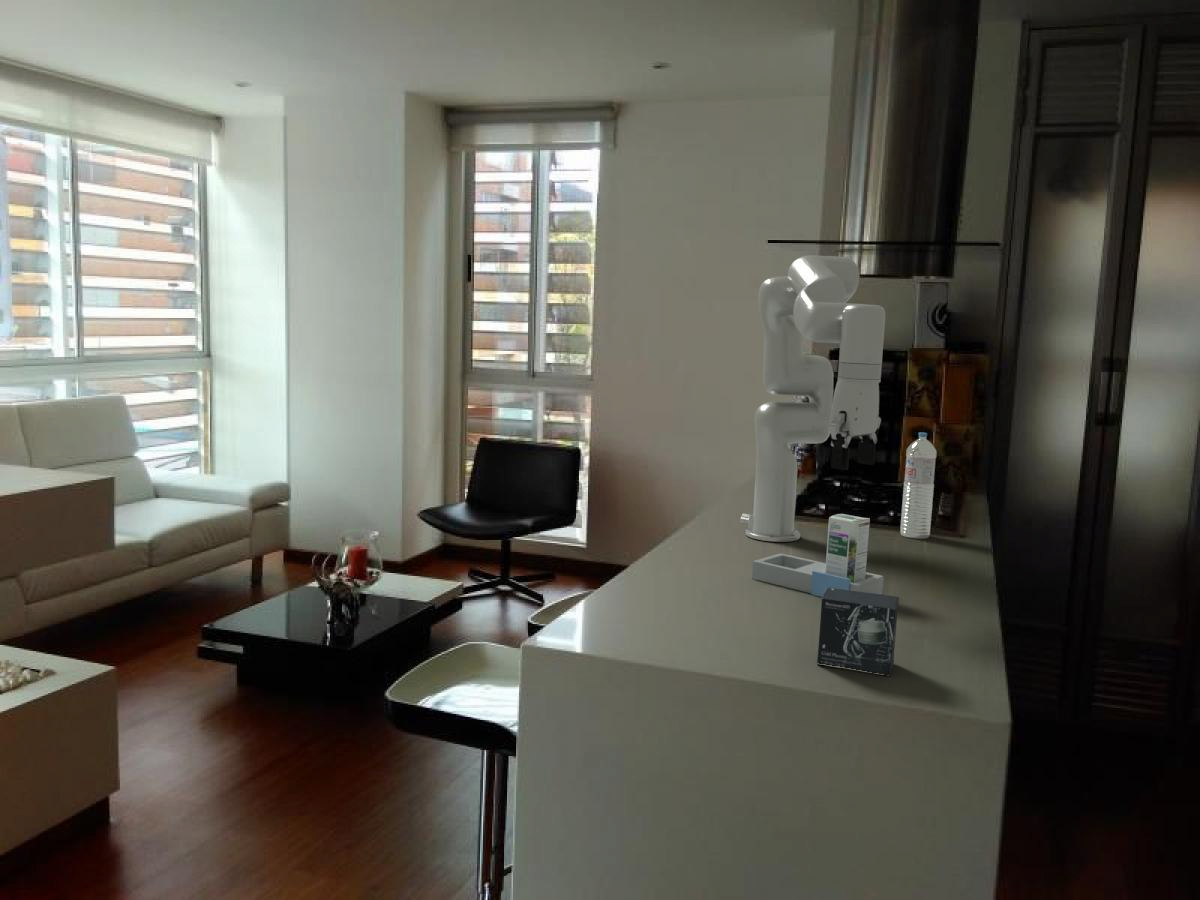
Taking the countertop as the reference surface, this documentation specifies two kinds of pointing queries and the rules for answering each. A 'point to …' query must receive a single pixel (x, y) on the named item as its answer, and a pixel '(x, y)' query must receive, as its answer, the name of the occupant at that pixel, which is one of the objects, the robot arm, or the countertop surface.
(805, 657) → the countertop surface
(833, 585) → the gray rectangular open frame
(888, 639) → the box
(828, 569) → the syrup box
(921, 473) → the water bottle
